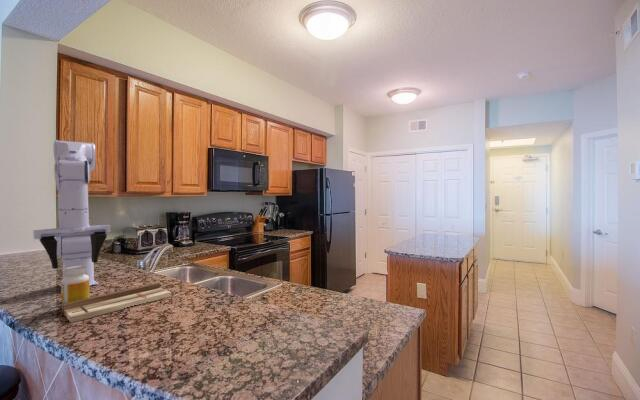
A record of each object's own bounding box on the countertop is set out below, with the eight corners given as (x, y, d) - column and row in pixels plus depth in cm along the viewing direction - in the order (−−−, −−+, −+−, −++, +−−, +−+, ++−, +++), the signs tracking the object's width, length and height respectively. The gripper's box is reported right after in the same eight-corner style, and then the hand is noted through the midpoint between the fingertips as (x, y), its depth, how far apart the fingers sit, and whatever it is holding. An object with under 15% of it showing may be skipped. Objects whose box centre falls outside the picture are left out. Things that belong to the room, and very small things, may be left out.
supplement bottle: (95, 303, 77) (94, 265, 77) (76, 311, 71) (75, 270, 71) (76, 302, 77) (74, 265, 77) (55, 311, 72) (54, 270, 72)
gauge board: (63, 313, 70) (62, 303, 70) (158, 290, 86) (158, 282, 86) (71, 322, 65) (70, 311, 65) (170, 296, 81) (170, 287, 81)
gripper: (36, 211, 66) (38, 273, 66) (113, 208, 77) (115, 261, 77) (31, 210, 70) (33, 268, 71) (105, 208, 81) (106, 258, 82)
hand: (75, 265), depth 74 cm, fingers open, 7 cm apart
